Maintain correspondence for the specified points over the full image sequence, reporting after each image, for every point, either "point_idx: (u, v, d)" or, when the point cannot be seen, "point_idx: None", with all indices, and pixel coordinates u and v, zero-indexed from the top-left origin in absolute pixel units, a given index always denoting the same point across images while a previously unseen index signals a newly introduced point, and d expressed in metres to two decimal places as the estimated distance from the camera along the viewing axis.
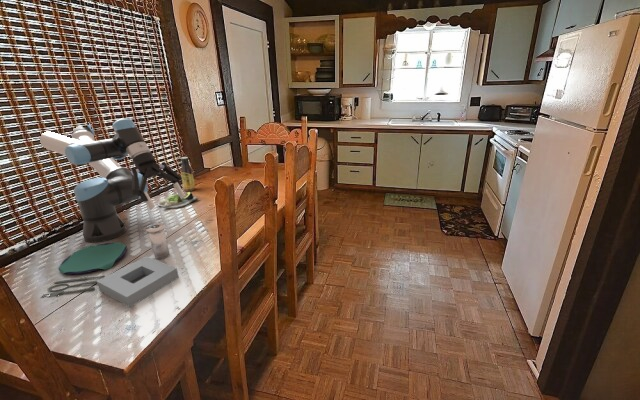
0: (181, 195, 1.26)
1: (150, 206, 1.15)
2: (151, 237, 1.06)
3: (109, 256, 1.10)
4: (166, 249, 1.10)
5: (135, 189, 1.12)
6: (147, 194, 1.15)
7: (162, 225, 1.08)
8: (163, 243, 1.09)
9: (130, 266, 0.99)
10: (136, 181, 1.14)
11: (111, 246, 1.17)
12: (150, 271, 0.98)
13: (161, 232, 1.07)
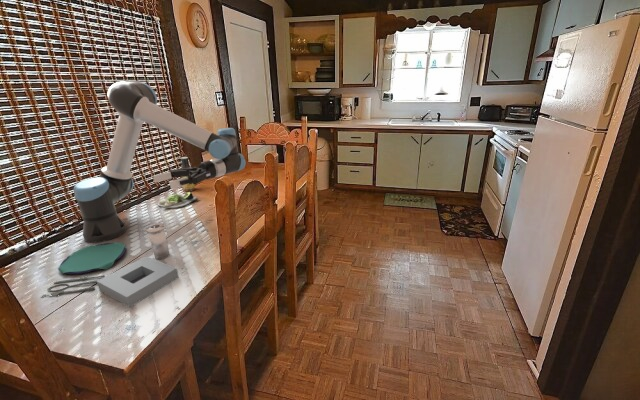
0: (157, 179, 1.19)
1: (173, 184, 1.11)
2: (151, 237, 1.06)
3: (109, 256, 1.10)
4: (166, 249, 1.10)
5: (196, 183, 1.15)
6: (184, 184, 1.14)
7: (162, 225, 1.08)
8: (163, 243, 1.09)
9: (130, 266, 0.99)
10: None
11: (110, 246, 1.17)
12: (150, 271, 0.98)
13: (161, 232, 1.07)
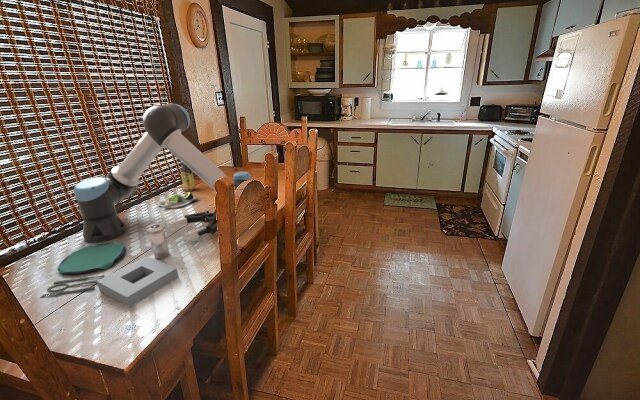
0: (173, 226, 1.19)
1: (192, 235, 1.11)
2: (151, 237, 1.06)
3: (108, 256, 1.10)
4: (166, 249, 1.10)
5: None
6: None
7: (162, 225, 1.08)
8: (163, 243, 1.09)
9: (130, 266, 0.99)
10: None
11: (110, 246, 1.17)
12: (150, 271, 0.98)
13: (161, 232, 1.07)
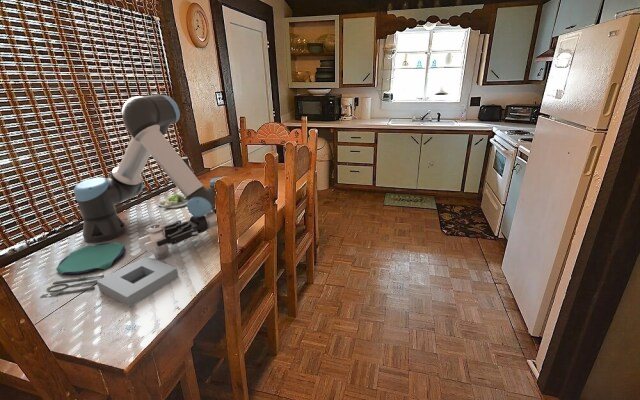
0: (142, 242, 1.08)
1: (149, 246, 1.04)
2: (151, 237, 1.06)
3: (107, 256, 1.11)
4: (166, 249, 1.10)
5: None
6: None
7: (162, 225, 1.08)
8: None
9: (130, 266, 0.99)
10: None
11: (108, 246, 1.17)
12: (150, 271, 0.98)
13: (161, 232, 1.07)
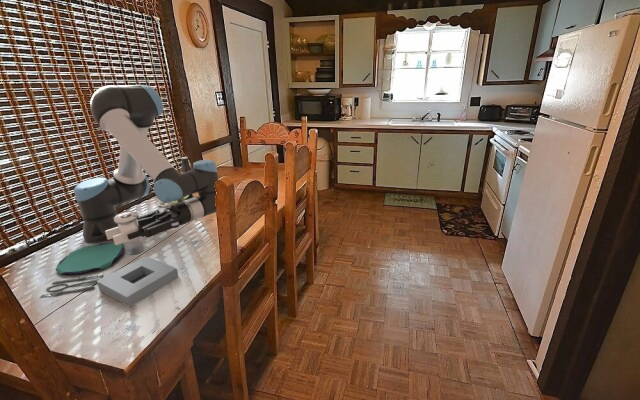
0: (110, 234, 0.89)
1: (118, 239, 0.86)
2: (121, 229, 0.88)
3: (106, 256, 1.11)
4: (140, 243, 0.92)
5: (150, 236, 0.90)
6: (134, 237, 0.90)
7: (134, 214, 0.90)
8: None
9: (130, 266, 0.99)
10: None
11: (108, 246, 1.17)
12: (150, 271, 0.98)
13: (133, 223, 0.89)
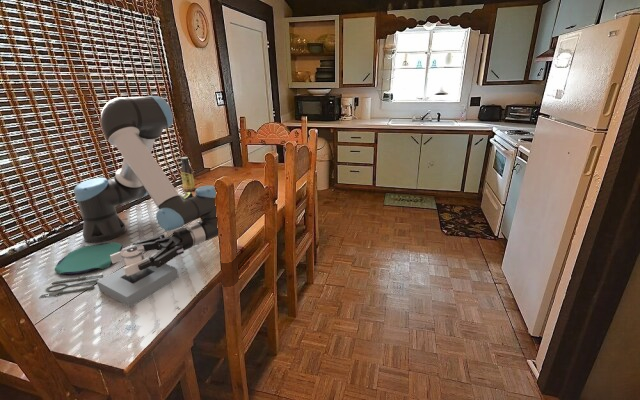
0: (115, 258, 0.94)
1: (129, 270, 0.87)
2: (127, 262, 0.91)
3: (105, 256, 1.11)
4: (144, 275, 0.95)
5: None
6: None
7: (140, 248, 0.93)
8: None
9: None
10: None
11: (106, 246, 1.17)
12: (150, 271, 0.98)
13: (139, 256, 0.92)
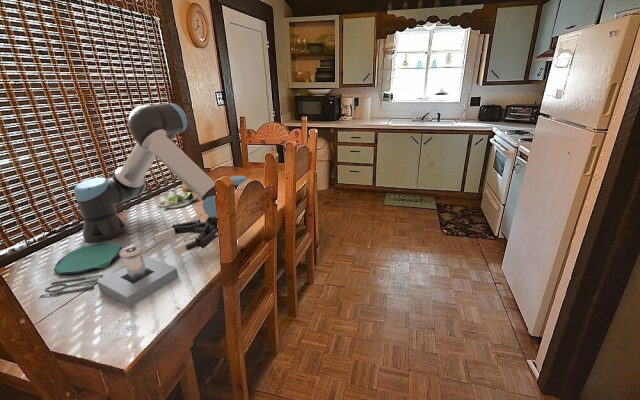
0: (159, 238, 1.05)
1: (178, 250, 0.96)
2: (126, 262, 0.91)
3: (105, 256, 1.11)
4: (144, 275, 0.95)
5: None
6: None
7: (139, 248, 0.93)
8: (141, 269, 0.93)
9: None
10: None
11: (105, 246, 1.17)
12: (150, 271, 0.98)
13: (138, 256, 0.92)
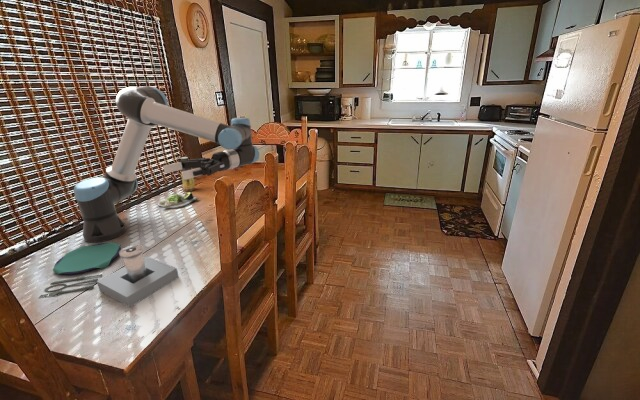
0: (167, 169, 1.11)
1: (186, 174, 1.03)
2: (126, 262, 0.91)
3: (104, 256, 1.11)
4: (144, 275, 0.95)
5: (210, 174, 1.07)
6: (197, 175, 1.07)
7: (139, 248, 0.93)
8: (141, 269, 0.93)
9: None
10: None
11: (104, 246, 1.17)
12: (150, 271, 0.98)
13: (138, 256, 0.92)
